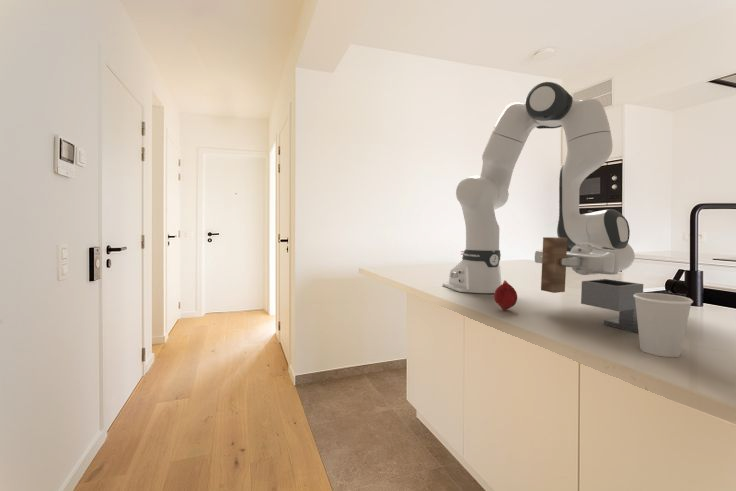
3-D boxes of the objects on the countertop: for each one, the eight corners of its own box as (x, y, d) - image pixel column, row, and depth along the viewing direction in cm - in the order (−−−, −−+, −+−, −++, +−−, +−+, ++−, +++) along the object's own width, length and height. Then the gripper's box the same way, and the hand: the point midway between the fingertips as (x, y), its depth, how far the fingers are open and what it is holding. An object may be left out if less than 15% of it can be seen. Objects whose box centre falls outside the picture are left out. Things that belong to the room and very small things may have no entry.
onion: (520, 310, 99) (520, 280, 99) (512, 313, 95) (512, 283, 94) (498, 306, 103) (499, 278, 103) (490, 310, 99) (490, 280, 98)
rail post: (540, 290, 98) (543, 237, 97) (551, 289, 99) (553, 237, 98) (554, 292, 94) (556, 238, 93) (564, 291, 96) (567, 237, 95)
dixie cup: (667, 344, 70) (670, 292, 70) (703, 360, 62) (706, 302, 62) (621, 343, 71) (623, 292, 71) (650, 359, 63) (653, 301, 62)
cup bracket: (580, 328, 82) (581, 281, 81) (619, 321, 87) (621, 277, 87) (617, 338, 74) (619, 286, 74) (657, 330, 80) (660, 282, 80)
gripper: (554, 244, 111) (520, 245, 105) (626, 250, 92) (589, 251, 86) (553, 265, 111) (519, 267, 105) (624, 275, 93) (588, 278, 87)
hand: (551, 260), depth 96 cm, fingers closed on rail post, 4 cm apart
